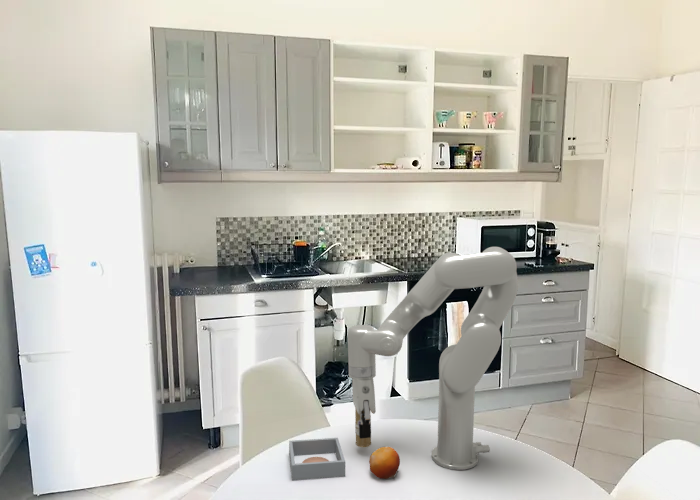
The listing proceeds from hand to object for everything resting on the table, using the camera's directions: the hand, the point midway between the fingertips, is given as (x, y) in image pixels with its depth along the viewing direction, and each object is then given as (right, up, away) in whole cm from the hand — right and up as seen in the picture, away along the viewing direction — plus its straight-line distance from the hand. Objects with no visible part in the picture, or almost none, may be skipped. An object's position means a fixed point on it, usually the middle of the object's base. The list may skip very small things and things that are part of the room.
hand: (363, 432), depth 147 cm
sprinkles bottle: (0, -4, 0) cm, 4 cm away
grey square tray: (-13, -6, -7) cm, 16 cm away
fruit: (+5, -7, -11) cm, 14 cm away
